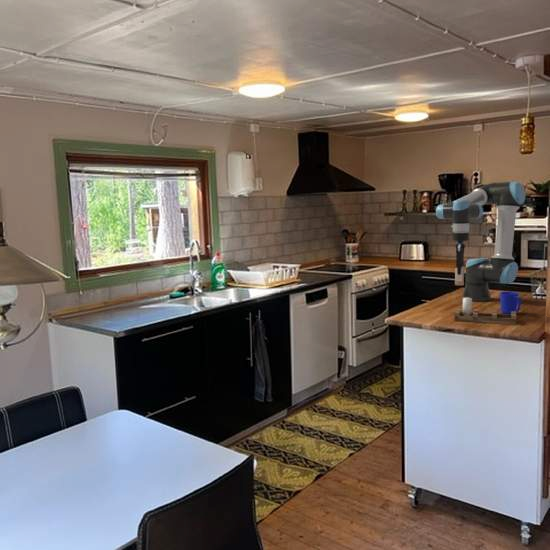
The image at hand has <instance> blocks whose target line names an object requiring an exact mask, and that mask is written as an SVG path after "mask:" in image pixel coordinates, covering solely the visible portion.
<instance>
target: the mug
mask: <svg viewBox="0 0 550 550" xmlns="http://www.w3.org/2000/svg"><path fill="white" fill-rule="evenodd" d="M499 297H500V299H499V300H500V312H501V314H511V311H515V312H516V313H517V312H519V311H520V309H521V306H522V305H521V304H522V297H521V296H519V293H518V292H517V291H516V292H514V291H501V292H500V293H499Z"/></svg>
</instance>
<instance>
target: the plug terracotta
mask: <svg viewBox="0 0 550 550" xmlns="http://www.w3.org/2000/svg"><path fill="white" fill-rule="evenodd" d="M454 268H455V267H454ZM454 276H455V277H454V285H455V286H465V285H464V284H465V278H464V277H465V267H464V266H462V281H456V268H455V272H454Z"/></svg>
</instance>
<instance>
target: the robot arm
mask: <svg viewBox="0 0 550 550" xmlns="http://www.w3.org/2000/svg"><path fill="white" fill-rule="evenodd" d="M524 187H525V186H524V185H523V184H522V182H519V181H506V182H505V181H503V182H491V183H488V184H484V185H482V186H479V187H477V188H474V189H473V190H472V192H471V193H469V194H466V195H464V196H462V197H460V198H458V199H456V200H453V201H451V202H449V203H447V204H445V203H443V204H442V203H441V204H438V205H437V207H436V209H435V215H436V217H437V218H438V219H440V220H452V225H451V228H452V234H451V237H452V238H451V239H452V241H454V242H456V244H455V253H456V254H455V255H456V258H455V262H456V263H455V266H454V268H456V281H462V266H464V268H465V285H464V286H465V287H464V288H463V292H462V295H461V300H463V298H472V302H489V301H491V300H492V295H491V292H490V289H489V283H496V284H503V285H504V284H505V285H506V284H508V285H509V284H512V283H513V282H514V281H515V279H516V278H517V275H518V272H519V267H518V266H519V265H518V263H517V262H515V258H514V257H513V255H512V254H513V246H514V236H515V227H516V217H517V211H518V210H519V209H520V206H521V205H523V204H524V203H525V201H526V191H525V188H524ZM484 205H495V207H496V209H497V210H498V215H497V223H496V224H497V226H496V227H497V228H496V234H495V245H494V254H493V255H492V256H491V257H490V259H489V257H477V258H470V259H467V261H466V263H464V261H465V259H464V258H465V248H466V244H464V242H467V241H469V240H470V233H469V232H470V220H477V219H480V218H481V217H482V216H483V214H484V208H483V206H484Z"/></svg>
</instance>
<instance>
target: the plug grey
mask: <svg viewBox="0 0 550 550" xmlns="http://www.w3.org/2000/svg"><path fill="white" fill-rule="evenodd" d="M472 307H473V301H472V298H463V299H462V312H463V313H462V316H471V315H472V312H473V311H472V310H473V309H472Z"/></svg>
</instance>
